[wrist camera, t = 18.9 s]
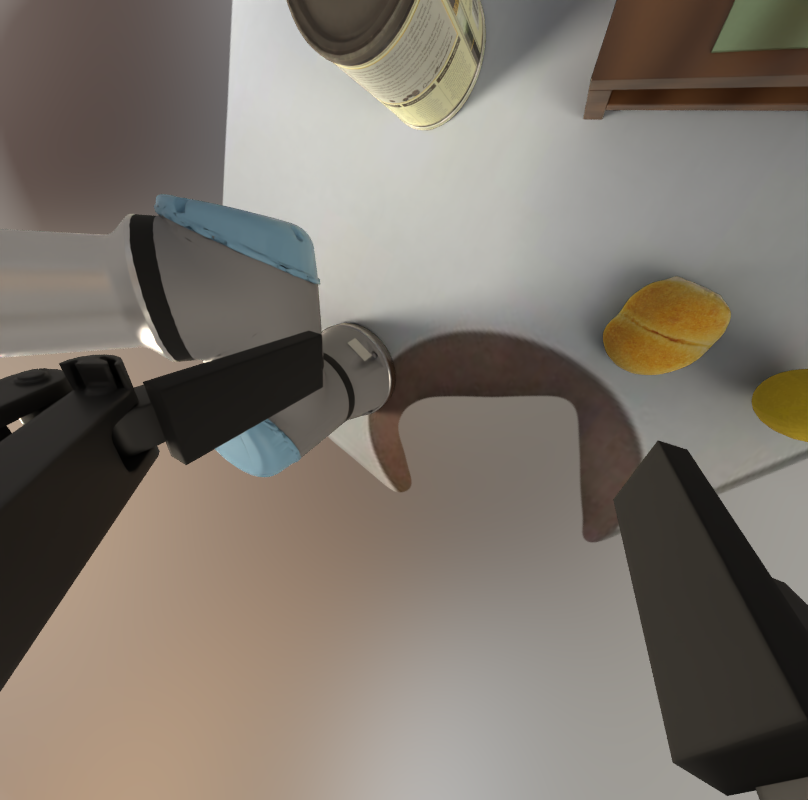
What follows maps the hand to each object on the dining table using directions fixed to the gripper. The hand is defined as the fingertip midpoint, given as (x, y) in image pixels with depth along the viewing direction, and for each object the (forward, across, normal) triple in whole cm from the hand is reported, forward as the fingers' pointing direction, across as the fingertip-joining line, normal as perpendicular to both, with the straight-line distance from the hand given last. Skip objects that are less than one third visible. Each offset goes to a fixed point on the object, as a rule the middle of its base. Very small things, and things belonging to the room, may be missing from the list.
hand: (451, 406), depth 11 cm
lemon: (+27, +24, -2) cm, 36 cm away
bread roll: (+27, +13, +1) cm, 30 cm away
